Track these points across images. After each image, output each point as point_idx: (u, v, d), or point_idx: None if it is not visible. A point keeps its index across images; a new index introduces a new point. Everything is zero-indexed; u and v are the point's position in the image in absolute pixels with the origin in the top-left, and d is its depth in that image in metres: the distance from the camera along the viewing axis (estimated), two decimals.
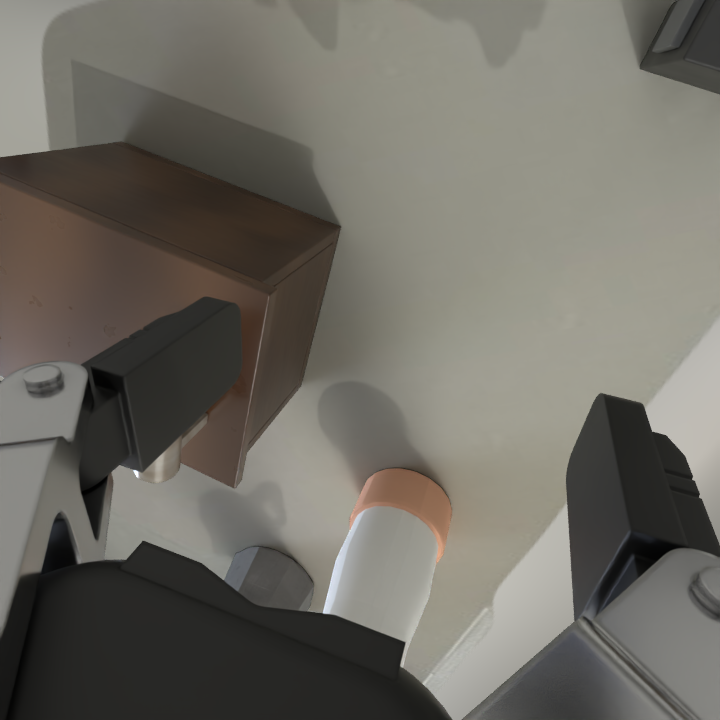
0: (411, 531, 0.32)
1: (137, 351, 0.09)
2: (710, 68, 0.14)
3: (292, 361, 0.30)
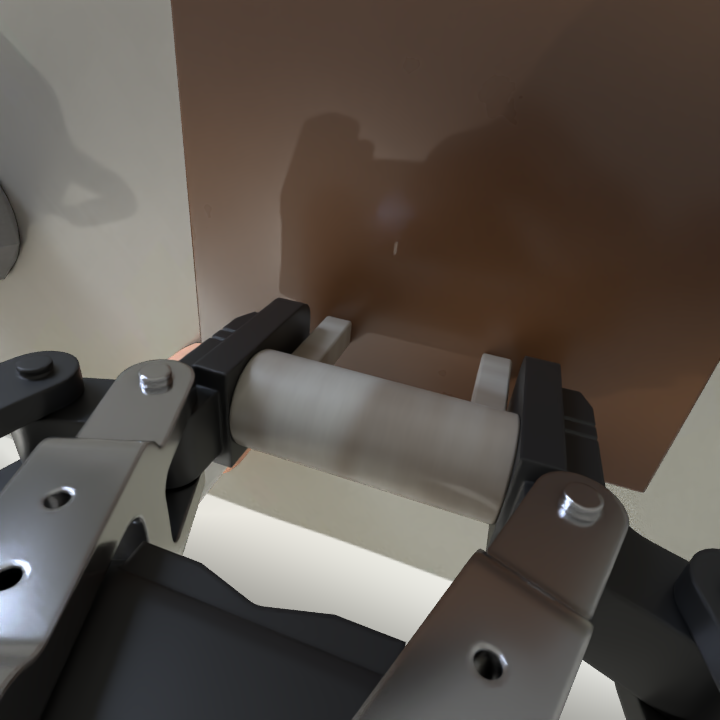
0: (221, 468, 0.26)
1: (231, 350, 0.09)
2: None
3: None
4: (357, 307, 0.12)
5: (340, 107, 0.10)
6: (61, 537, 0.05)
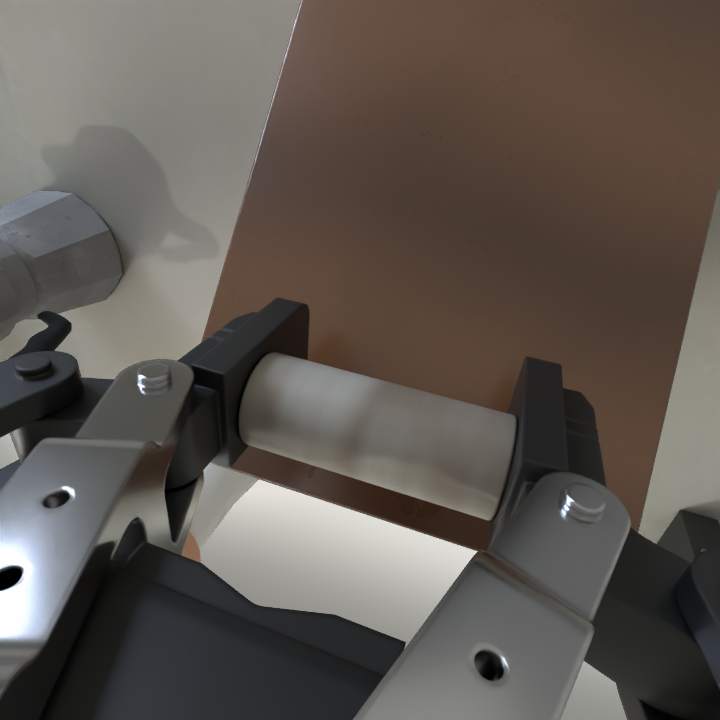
0: None
1: (230, 350, 0.09)
2: None
3: None
4: None
5: (362, 230, 0.14)
6: (60, 537, 0.05)
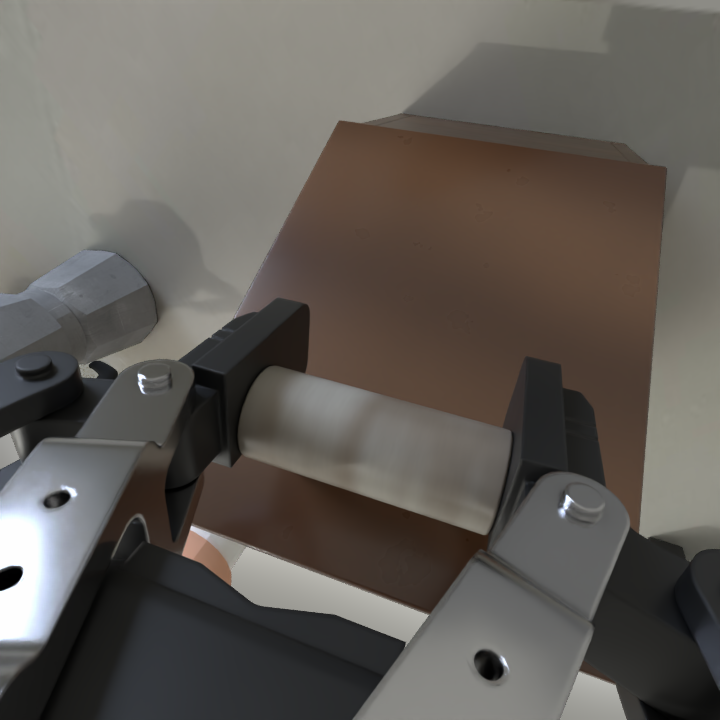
0: None
1: (230, 350, 0.09)
2: None
3: None
4: None
5: (359, 310, 0.15)
6: (61, 537, 0.05)
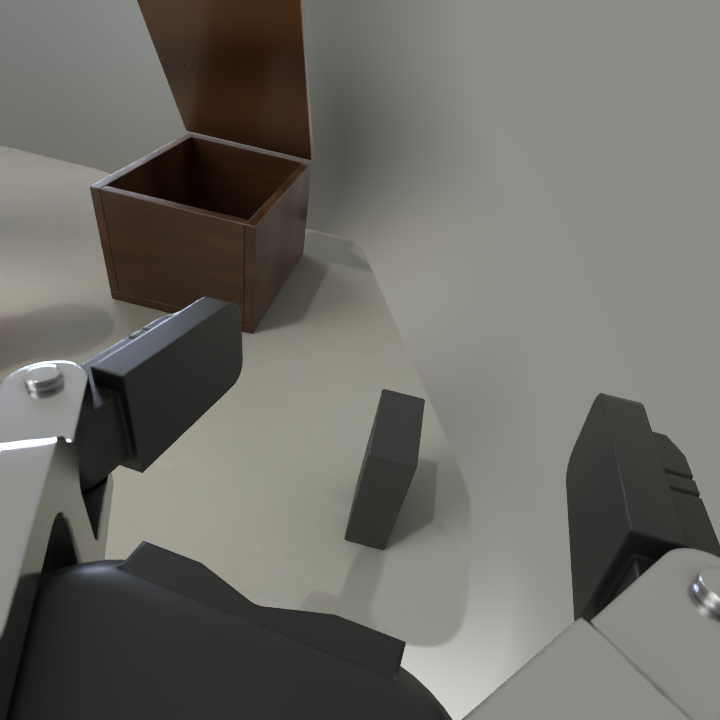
0: None
1: (137, 351, 0.09)
2: (380, 399, 0.26)
3: (156, 275, 0.39)
4: None
5: None
6: None
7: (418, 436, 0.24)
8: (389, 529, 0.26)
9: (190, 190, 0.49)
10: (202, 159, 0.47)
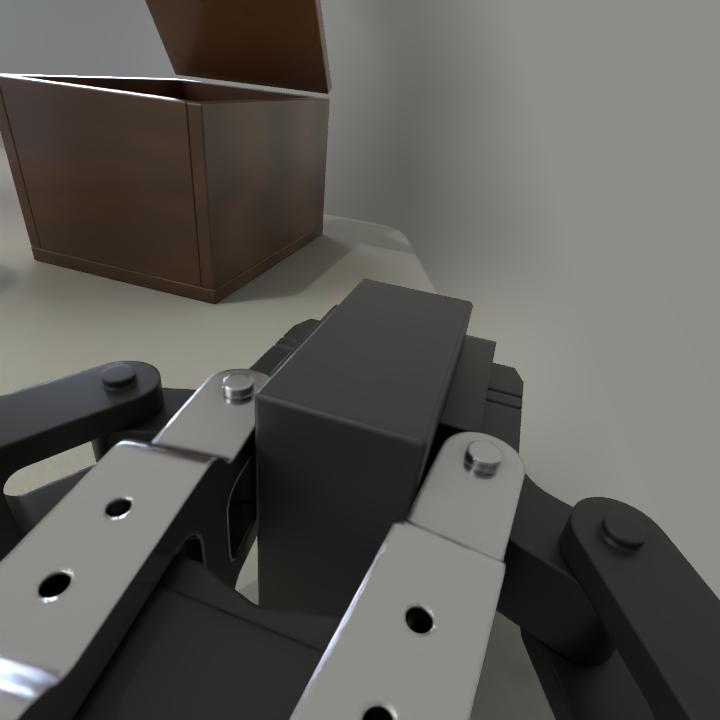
0: None
1: None
2: (350, 294, 0.10)
3: (81, 215, 0.26)
4: None
5: None
6: (112, 550, 0.05)
7: (444, 365, 0.07)
8: None
9: None
10: None
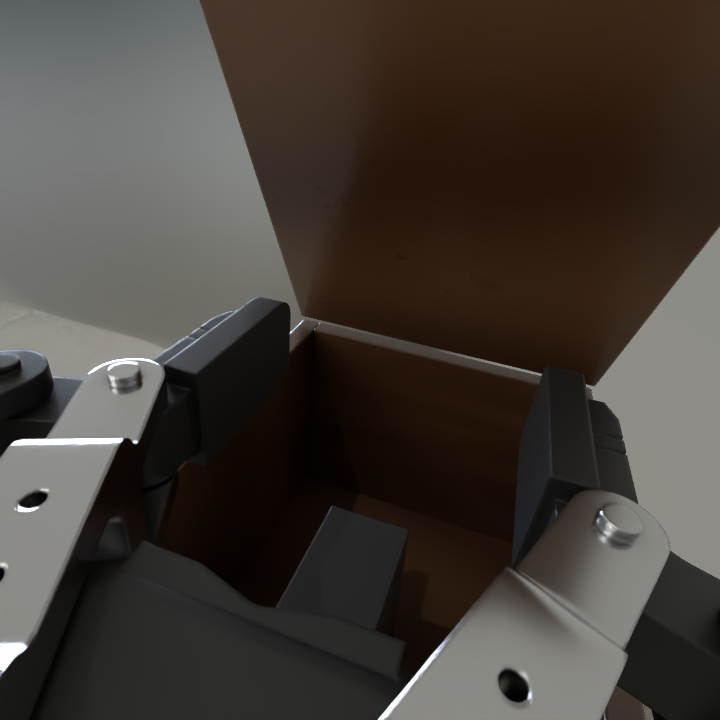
0: None
1: (204, 349, 0.09)
2: None
3: None
4: None
5: None
6: (41, 535, 0.05)
7: (373, 618, 0.11)
8: None
9: (300, 429, 0.23)
10: (330, 372, 0.22)
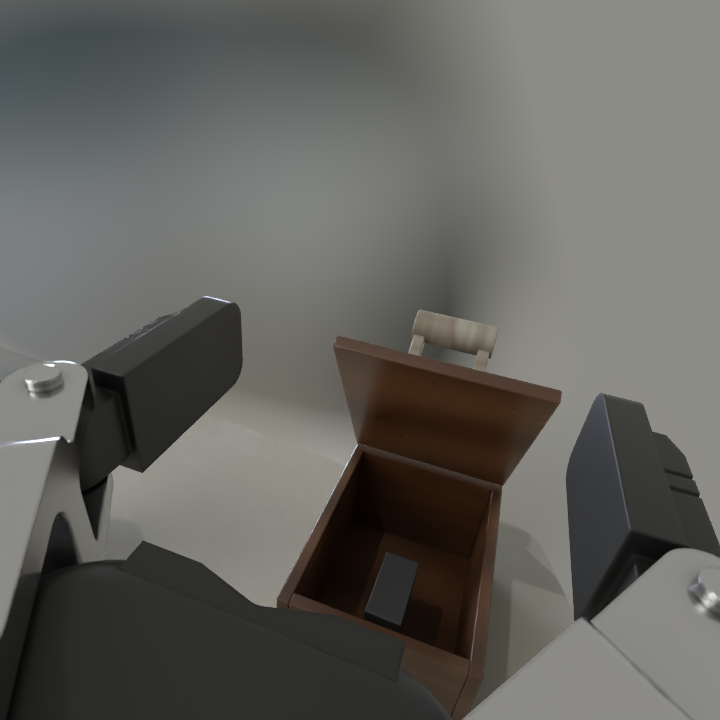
0: None
1: (137, 351, 0.09)
2: (383, 561, 0.33)
3: None
4: None
5: None
6: None
7: (407, 597, 0.31)
8: None
9: (354, 499, 0.43)
10: (371, 471, 0.42)
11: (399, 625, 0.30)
